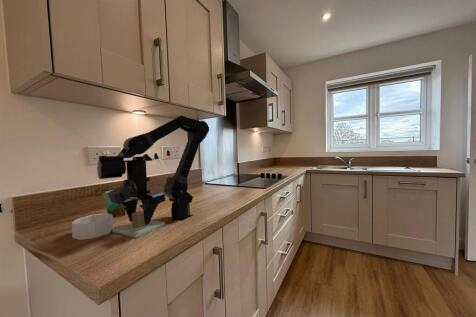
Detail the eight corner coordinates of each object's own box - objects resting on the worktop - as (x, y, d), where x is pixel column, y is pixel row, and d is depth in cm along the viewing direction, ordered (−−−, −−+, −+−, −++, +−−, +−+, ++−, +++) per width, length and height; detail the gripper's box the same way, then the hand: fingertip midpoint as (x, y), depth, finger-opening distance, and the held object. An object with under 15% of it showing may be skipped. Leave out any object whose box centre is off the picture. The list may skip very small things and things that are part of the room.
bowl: (101, 226, 70) (100, 212, 70) (119, 230, 65) (118, 215, 65) (67, 237, 61) (66, 221, 61) (85, 243, 57) (84, 225, 56)
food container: (101, 215, 84) (99, 191, 83) (118, 211, 88) (116, 189, 88) (108, 221, 75) (106, 195, 75) (126, 217, 79) (124, 192, 79)
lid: (143, 220, 73) (142, 206, 73) (165, 224, 68) (164, 209, 68) (112, 232, 63) (111, 215, 63) (135, 237, 58) (134, 219, 58)
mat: (143, 221, 73) (143, 220, 73) (167, 225, 68) (167, 224, 68) (110, 233, 63) (110, 232, 63) (135, 240, 57) (135, 238, 57)
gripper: (93, 178, 62) (96, 227, 62) (133, 179, 53) (136, 237, 54) (127, 174, 72) (129, 216, 72) (165, 174, 63) (167, 223, 64)
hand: (139, 222), depth 65 cm, fingers open, 7 cm apart
